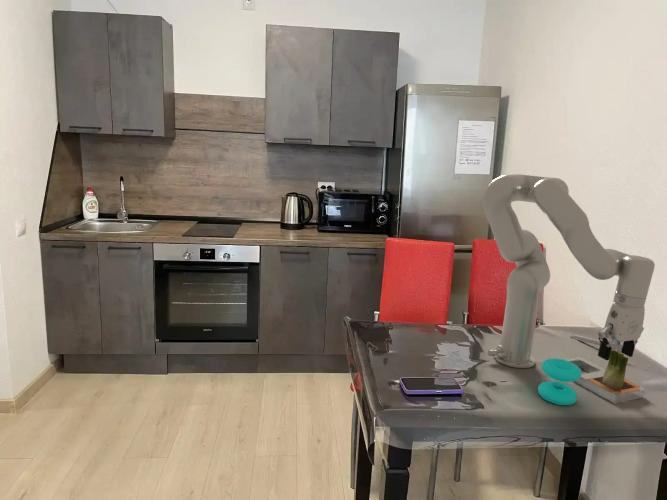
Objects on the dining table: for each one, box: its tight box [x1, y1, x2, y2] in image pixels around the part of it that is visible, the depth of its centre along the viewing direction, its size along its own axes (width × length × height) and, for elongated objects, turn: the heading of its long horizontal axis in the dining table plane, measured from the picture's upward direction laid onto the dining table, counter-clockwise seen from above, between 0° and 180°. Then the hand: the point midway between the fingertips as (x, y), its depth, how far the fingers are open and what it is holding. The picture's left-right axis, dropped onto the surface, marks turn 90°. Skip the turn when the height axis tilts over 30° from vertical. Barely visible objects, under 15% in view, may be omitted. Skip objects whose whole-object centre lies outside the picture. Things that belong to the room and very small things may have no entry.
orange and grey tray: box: [563, 356, 646, 405], centre depth 150 cm, size 12×22×3 cm, turn 24°
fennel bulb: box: [602, 349, 629, 391], centre depth 144 cm, size 6×5×12 cm
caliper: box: [569, 334, 623, 354], centre depth 177 cm, size 20×1×6 cm, turn 23°
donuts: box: [537, 357, 583, 406], centre depth 138 cm, size 10×10×10 cm
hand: (614, 356), depth 144 cm, fingers open, 9 cm apart
